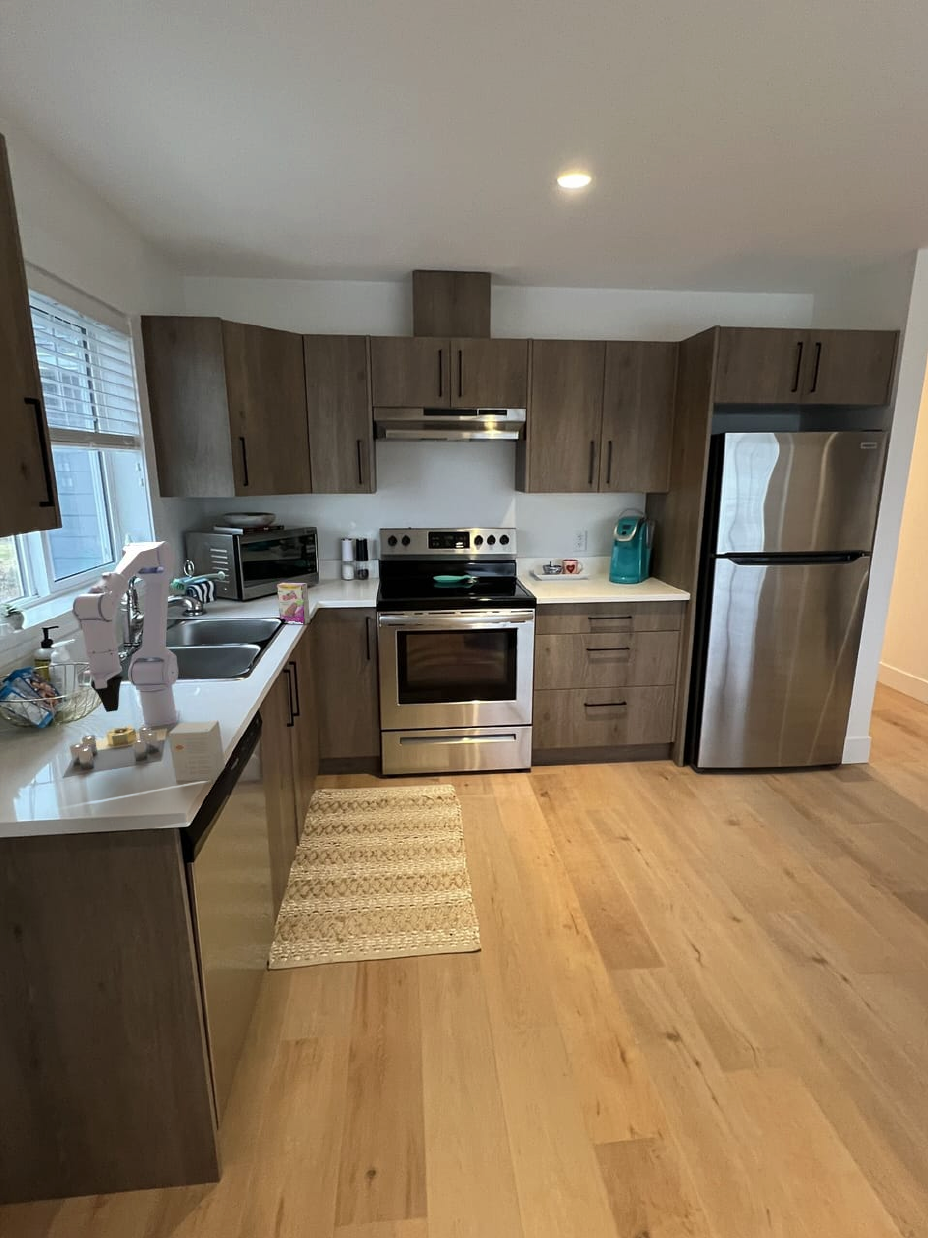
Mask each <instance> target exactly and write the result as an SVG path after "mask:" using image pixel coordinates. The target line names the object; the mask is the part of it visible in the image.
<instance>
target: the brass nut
mask: <svg viewBox="0 0 928 1238" xmlns="http://www.w3.org/2000/svg"><path fill="white" fill-rule="evenodd" d="M136 733H137V732H136V728H135V727H133V726H129V725H128V726H122V727H120V726H119V727H115V728H113V729H112V730H109V731H108V732H106V738H107V739H108V744H110V745H112V746H113V747H115V746H121V745H128V744H130V743H131V742H133V741H134V740H136V739H137V738H136Z"/></svg>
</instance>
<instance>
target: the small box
mask: <svg viewBox="0 0 928 1238" xmlns="http://www.w3.org/2000/svg"><path fill="white" fill-rule="evenodd" d="M168 739H169V745H170V746H169V747H170V751H171V757H172V759H171V760H172V763H173V764H172V765H173V771H174V776H175V781H176V782H186V781H187V782H188V781H201V782H211V781H214V782H215V781H217V780H218V778H219V776H220V775H221V774H222V772H223V771H224V769H225V768H226V763H225V757H224V749H223V742H222V736H221V728H220V722H219V721H218V720H210V721H191V722H189V721H188V722H187V721H186V722H179V723H178V724H177V725H176V726H175V727H174V728H173V729H172V730H171V731H169V732H168Z"/></svg>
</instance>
